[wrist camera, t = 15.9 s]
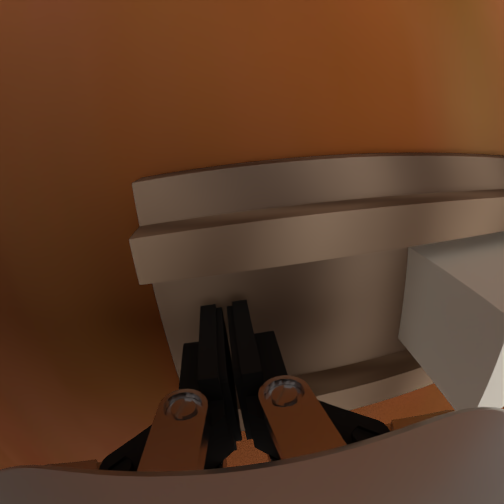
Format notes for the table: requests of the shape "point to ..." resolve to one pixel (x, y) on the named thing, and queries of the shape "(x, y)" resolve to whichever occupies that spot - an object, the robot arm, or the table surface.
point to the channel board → (311, 255)
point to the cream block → (458, 317)
